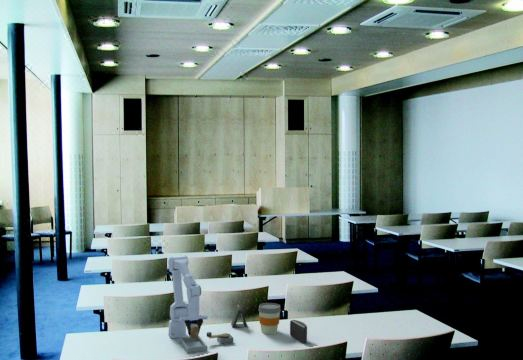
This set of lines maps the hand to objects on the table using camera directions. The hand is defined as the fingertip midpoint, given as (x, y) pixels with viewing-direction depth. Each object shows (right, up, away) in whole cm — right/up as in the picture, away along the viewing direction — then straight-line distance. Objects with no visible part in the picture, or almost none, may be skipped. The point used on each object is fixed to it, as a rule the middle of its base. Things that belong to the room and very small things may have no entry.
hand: (193, 333), depth 313 cm
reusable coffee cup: (+40, -6, +27) cm, 49 cm away
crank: (+12, -4, +7) cm, 14 cm away
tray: (0, -7, 0) cm, 7 cm away
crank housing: (+15, -6, +12) cm, 20 cm away
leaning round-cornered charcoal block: (+56, -7, +14) cm, 58 cm away
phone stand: (+23, -5, +37) cm, 43 cm away
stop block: (0, -2, 0) cm, 2 cm away
